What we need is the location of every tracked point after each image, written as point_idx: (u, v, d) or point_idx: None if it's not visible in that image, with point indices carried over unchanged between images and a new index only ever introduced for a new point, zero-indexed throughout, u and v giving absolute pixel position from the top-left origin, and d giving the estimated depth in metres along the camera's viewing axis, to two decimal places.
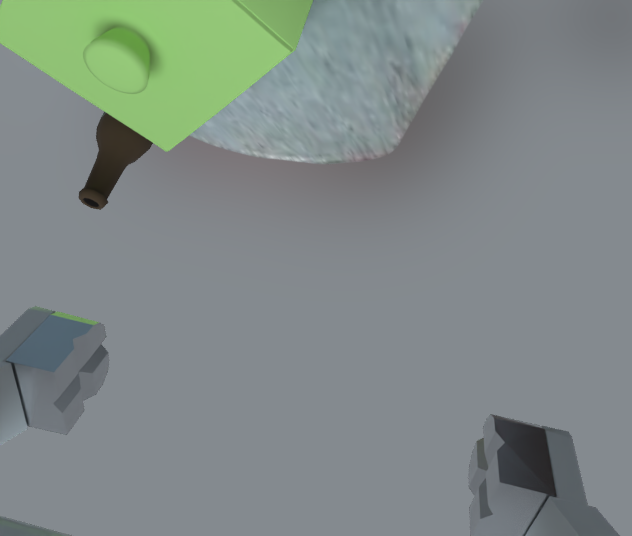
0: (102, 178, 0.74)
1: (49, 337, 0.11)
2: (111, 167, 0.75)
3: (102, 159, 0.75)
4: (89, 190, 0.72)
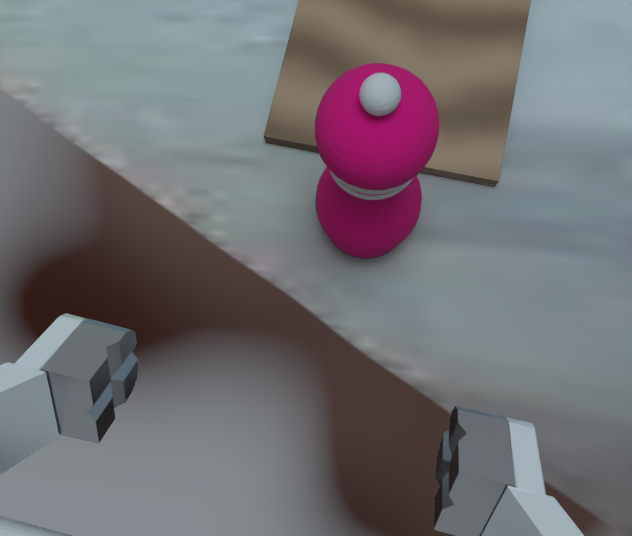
0: None
1: (82, 345, 0.11)
2: None
3: None
4: None
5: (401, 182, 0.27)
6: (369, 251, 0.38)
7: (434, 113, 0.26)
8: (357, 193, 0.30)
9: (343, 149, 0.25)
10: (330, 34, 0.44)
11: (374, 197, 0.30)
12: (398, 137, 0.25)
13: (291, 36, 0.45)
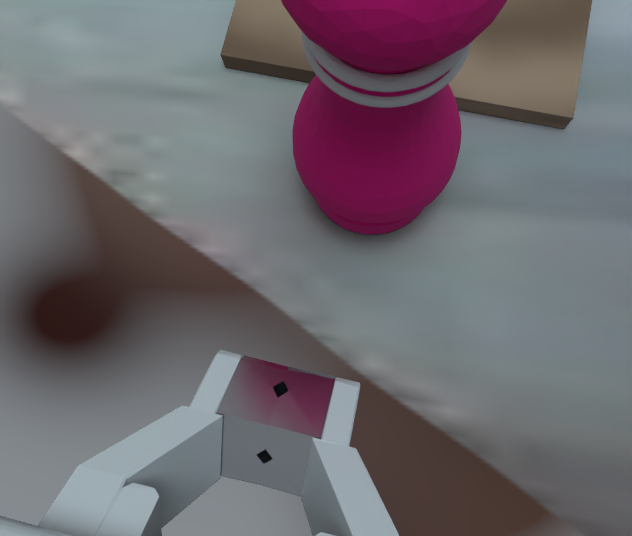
0: None
1: (249, 385, 0.10)
2: None
3: None
4: None
5: (449, 45, 0.13)
6: (377, 219, 0.23)
7: None
8: (357, 94, 0.16)
9: None
10: None
11: (389, 101, 0.16)
12: None
13: None
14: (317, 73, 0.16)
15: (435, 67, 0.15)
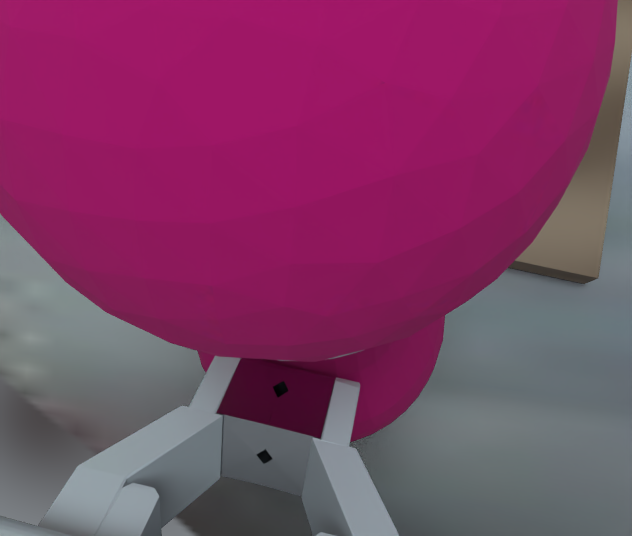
0: None
1: (249, 385, 0.10)
2: None
3: None
4: None
5: (404, 333, 0.05)
6: None
7: None
8: None
9: None
10: None
11: None
12: (385, 20, 0.03)
13: None
14: None
15: None
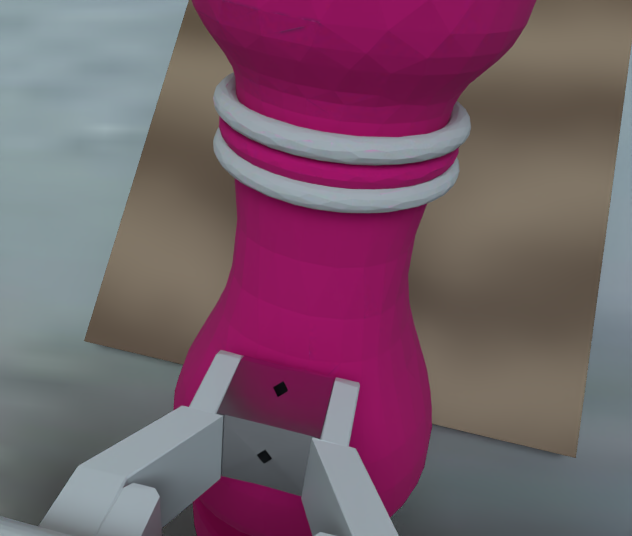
0: None
1: (249, 385, 0.10)
2: None
3: None
4: None
5: None
6: (294, 528, 0.13)
7: None
8: (285, 178, 0.10)
9: None
10: None
11: (337, 194, 0.09)
12: None
13: (152, 130, 0.23)
14: (226, 162, 0.10)
15: (415, 136, 0.09)
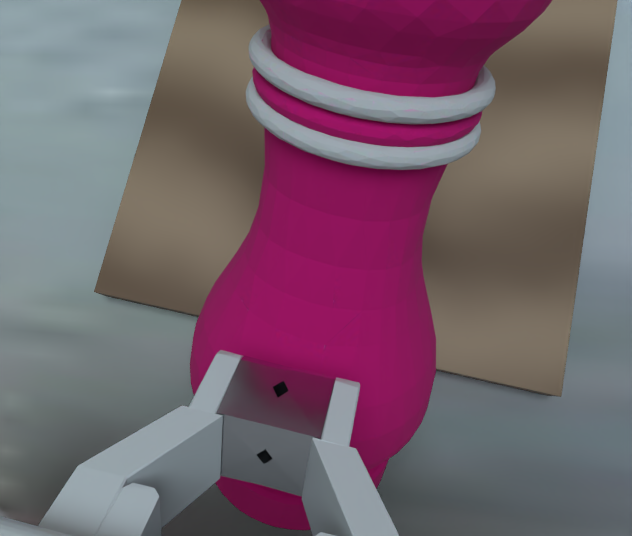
0: None
1: (249, 385, 0.10)
2: None
3: None
4: None
5: None
6: None
7: None
8: (325, 134, 0.10)
9: None
10: (231, 87, 0.23)
11: (374, 151, 0.10)
12: None
13: (157, 91, 0.23)
14: (263, 117, 0.11)
15: (450, 96, 0.10)
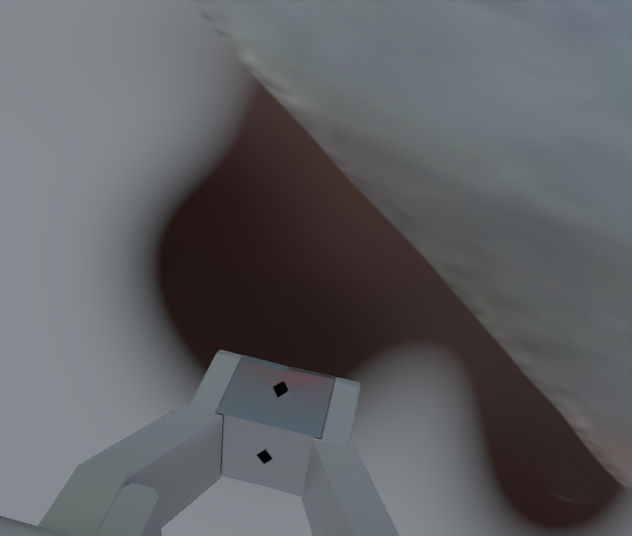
0: None
1: (249, 385, 0.10)
2: None
3: None
4: None
5: None
6: None
7: None
8: None
9: None
10: None
11: None
12: None
13: None
14: None
15: None
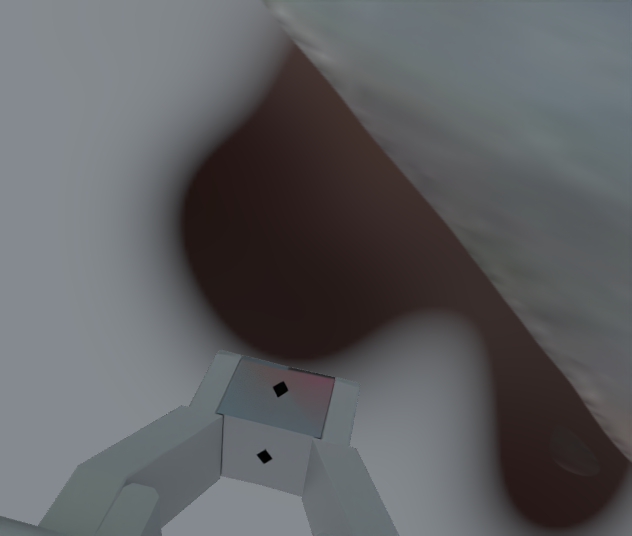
0: None
1: (249, 385, 0.10)
2: None
3: None
4: None
5: None
6: None
7: None
8: None
9: None
10: None
11: None
12: None
13: None
14: None
15: None
